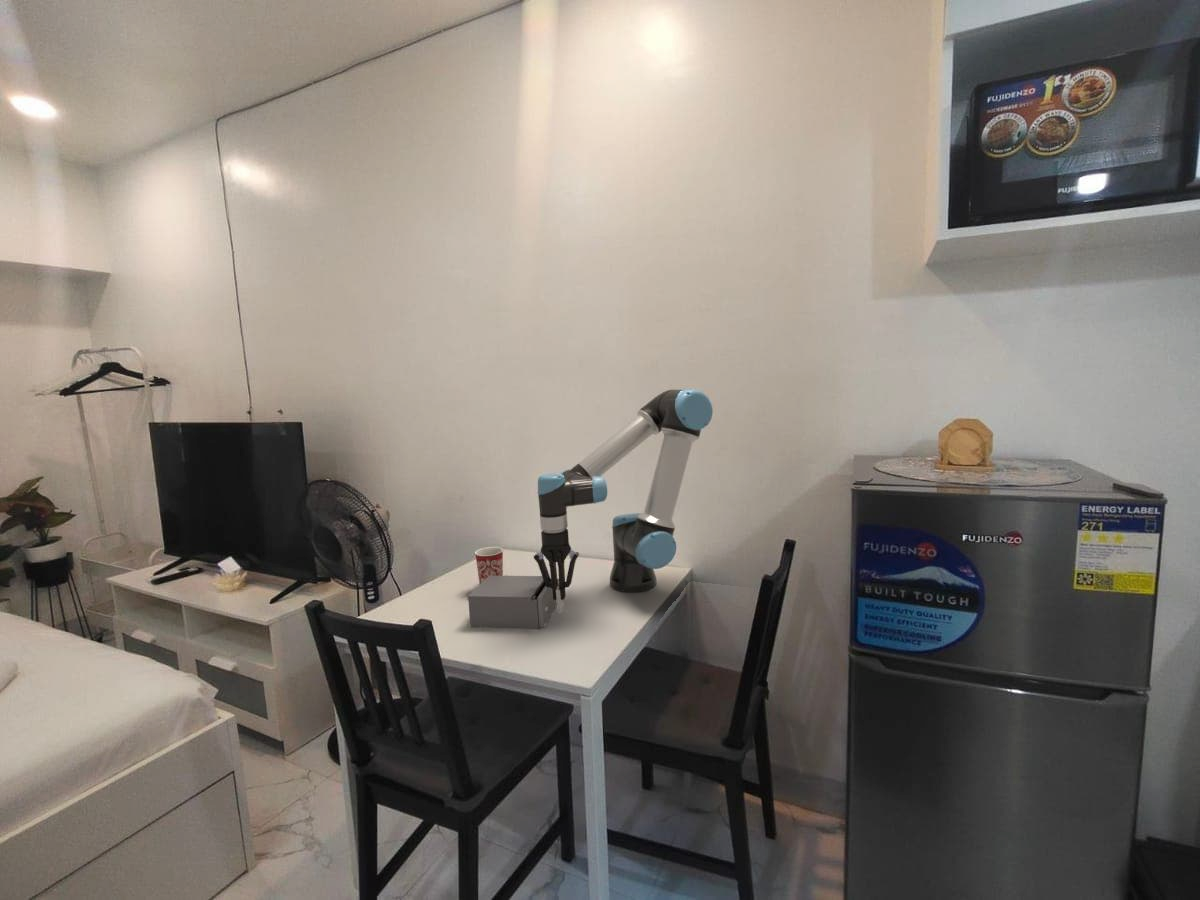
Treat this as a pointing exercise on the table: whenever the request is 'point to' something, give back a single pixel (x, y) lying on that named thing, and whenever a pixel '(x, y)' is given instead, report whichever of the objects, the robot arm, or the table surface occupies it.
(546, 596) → the tray
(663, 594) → the table surface
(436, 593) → the table surface
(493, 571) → the mug
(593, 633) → the table surface
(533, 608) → the housing
